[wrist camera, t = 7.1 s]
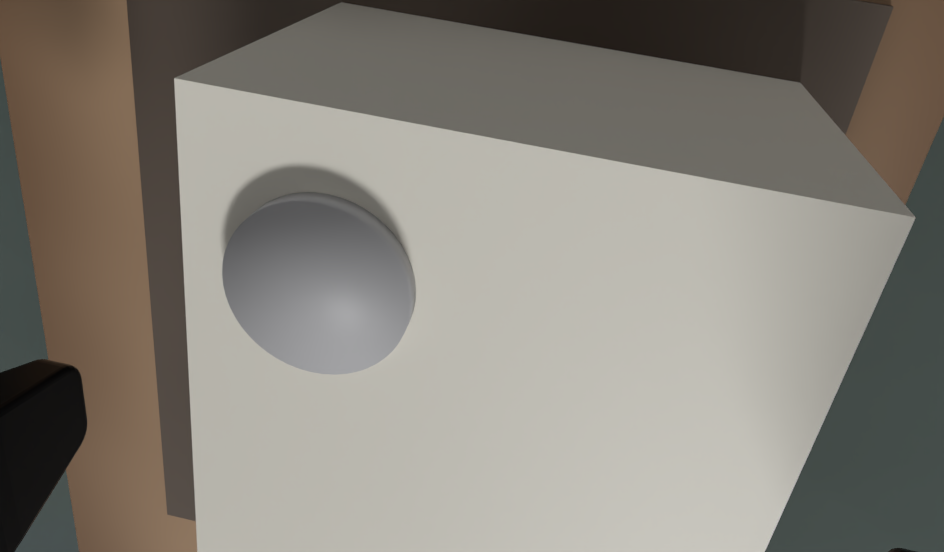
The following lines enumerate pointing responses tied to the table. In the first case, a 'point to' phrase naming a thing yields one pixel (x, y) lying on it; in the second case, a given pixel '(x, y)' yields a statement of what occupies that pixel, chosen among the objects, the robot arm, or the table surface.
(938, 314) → the table surface
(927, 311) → the table surface
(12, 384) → the robot arm
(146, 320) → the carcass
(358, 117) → the white block
